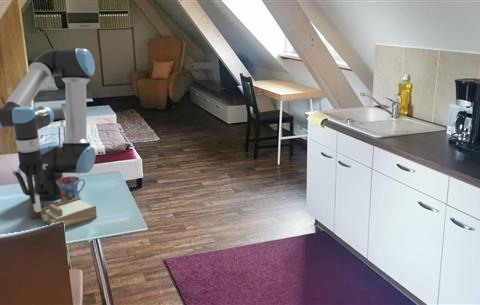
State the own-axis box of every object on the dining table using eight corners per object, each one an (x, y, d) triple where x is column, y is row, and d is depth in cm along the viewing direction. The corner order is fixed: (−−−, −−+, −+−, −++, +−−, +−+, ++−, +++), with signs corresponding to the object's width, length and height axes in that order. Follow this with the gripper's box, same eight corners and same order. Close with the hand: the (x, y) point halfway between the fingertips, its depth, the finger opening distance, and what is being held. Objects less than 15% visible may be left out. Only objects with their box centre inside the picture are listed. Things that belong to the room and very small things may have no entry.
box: (41, 220, 188) (40, 209, 186) (79, 208, 199) (78, 197, 197) (58, 230, 178) (56, 218, 177) (96, 217, 189) (95, 206, 188)
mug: (65, 209, 198) (61, 185, 195) (55, 203, 204) (52, 180, 201) (91, 201, 206) (89, 178, 203) (81, 196, 212) (78, 173, 209)
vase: (28, 221, 187) (25, 200, 185) (28, 215, 193) (25, 194, 191) (47, 218, 190) (44, 197, 187) (46, 212, 196) (43, 192, 193)
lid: (45, 213, 187) (44, 204, 186) (79, 202, 197) (78, 194, 196) (59, 221, 179) (57, 212, 178) (94, 209, 189) (93, 201, 188)
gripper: (14, 155, 165) (24, 218, 171) (51, 147, 174) (59, 208, 180) (6, 151, 170) (15, 213, 176) (42, 144, 179) (50, 203, 185)
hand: (37, 210), depth 178 cm, fingers closed
